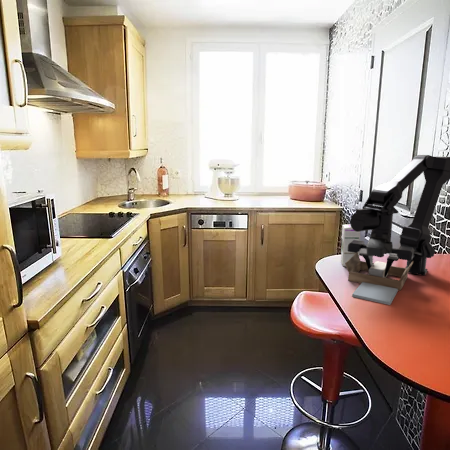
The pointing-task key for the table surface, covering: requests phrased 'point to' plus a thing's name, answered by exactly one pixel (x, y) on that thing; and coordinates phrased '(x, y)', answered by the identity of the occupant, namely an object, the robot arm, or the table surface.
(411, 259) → the robot arm
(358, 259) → the carton
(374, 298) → the mat
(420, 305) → the table surface
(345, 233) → the syrup box
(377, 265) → the cream box
